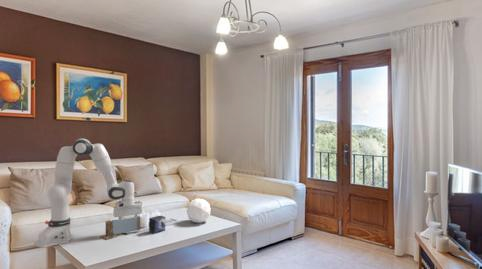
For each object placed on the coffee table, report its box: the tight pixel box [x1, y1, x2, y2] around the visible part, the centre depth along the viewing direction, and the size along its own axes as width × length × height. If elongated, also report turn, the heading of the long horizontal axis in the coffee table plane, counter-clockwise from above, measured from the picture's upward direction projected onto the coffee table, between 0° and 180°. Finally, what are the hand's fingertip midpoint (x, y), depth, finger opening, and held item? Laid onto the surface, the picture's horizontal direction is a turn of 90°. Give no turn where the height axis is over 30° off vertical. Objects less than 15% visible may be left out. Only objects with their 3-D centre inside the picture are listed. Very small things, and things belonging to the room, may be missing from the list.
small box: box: [148, 215, 166, 235], centre depth 246 cm, size 11×6×10 cm, turn 143°
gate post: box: [99, 220, 118, 241], centre depth 232 cm, size 8×8×11 cm
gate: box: [111, 215, 141, 235], centre depth 240 cm, size 20×2×10 cm, turn 127°
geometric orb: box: [186, 198, 212, 224], centre depth 270 cm, size 19×20×20 cm
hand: (128, 221), depth 242 cm, fingers closed on gate, 8 cm apart
